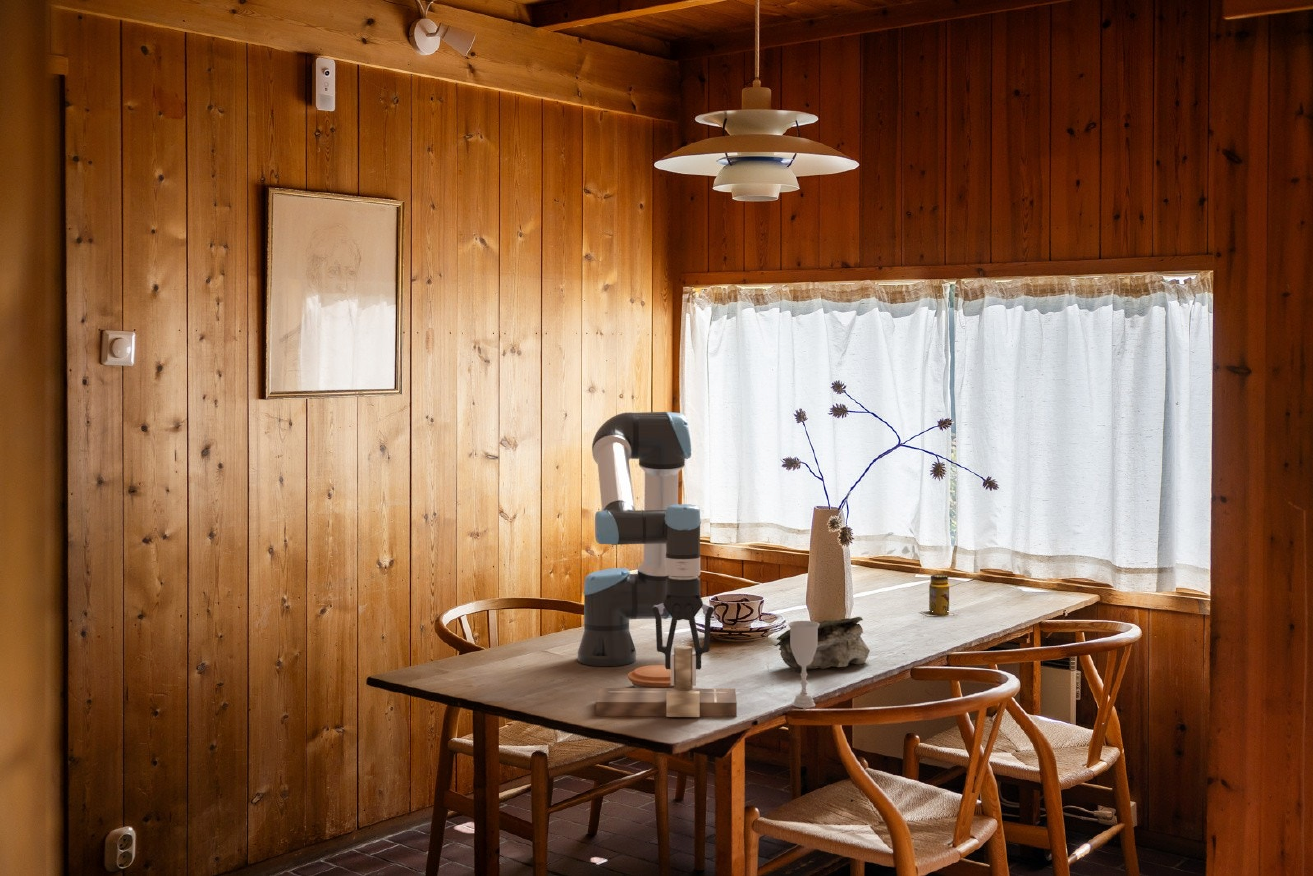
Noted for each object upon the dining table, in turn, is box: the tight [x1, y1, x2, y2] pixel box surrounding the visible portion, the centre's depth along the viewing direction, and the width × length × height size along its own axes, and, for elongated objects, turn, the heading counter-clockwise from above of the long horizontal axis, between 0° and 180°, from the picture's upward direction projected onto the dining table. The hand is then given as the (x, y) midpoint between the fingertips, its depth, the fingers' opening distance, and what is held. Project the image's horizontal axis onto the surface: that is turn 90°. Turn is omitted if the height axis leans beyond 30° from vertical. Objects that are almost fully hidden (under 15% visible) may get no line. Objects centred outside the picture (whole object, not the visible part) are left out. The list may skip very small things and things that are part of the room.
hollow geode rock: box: [773, 616, 870, 674], centre depth 301 cm, size 28×13×15 cm
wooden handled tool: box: [665, 645, 701, 718], centre depth 261 cm, size 7×11×14 cm, turn 178°
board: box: [595, 687, 738, 718], centre depth 264 cm, size 30×12×3 cm, turn 88°
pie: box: [627, 664, 674, 688], centre depth 281 cm, size 15×16×5 cm
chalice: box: [787, 620, 820, 709], centre depth 266 cm, size 7×7×18 cm
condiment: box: [918, 574, 954, 617], centre depth 373 cm, size 7×8×12 cm
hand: (683, 683), depth 261 cm, fingers closed on wooden handled tool, 4 cm apart
